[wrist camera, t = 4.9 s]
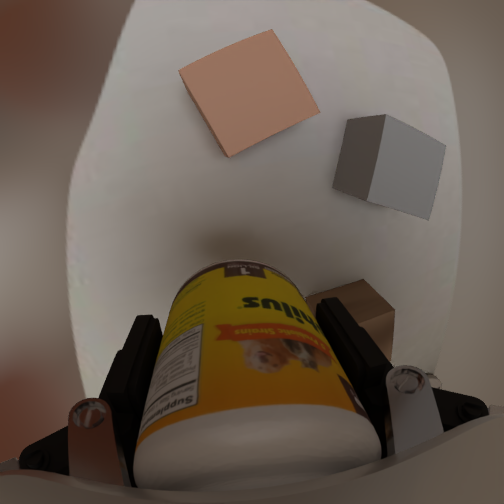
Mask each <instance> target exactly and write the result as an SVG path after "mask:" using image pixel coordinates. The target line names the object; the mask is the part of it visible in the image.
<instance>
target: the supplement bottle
mask: <svg viewBox="0 0 504 504" xmlns="http://www.w3.org/2000/svg"><path fill="white" fill-rule="evenodd" d="M381 453H382V451H381V444H380V440H379V437H378V435H377V433H376V431H375V429H374V426H373V425H372V423H371V420H370V418H369V417H368V415H367V413H366V411H365V409H364V408H363V406H362V404H361V402H360V400H359V398H358V396H357V394H356V392H355V390H354V389H353V387H352V385H351V383H350V381H349V379H348V378H347V376H346V374H345V372H344V370H343V368H342V367H341V365H340V363H339V361H338V359H337V357H336V356H335V354H334V352H333V350H332V348H331V346H330V345H329V343H328V341H327V339H326V337H325V335H324V333H323V332H322V330H321V328H320V326H319V325H318V323H317V321H316V319H315V318H314V316H313V314H312V312H311V310H310V309H309V307H308V305H307V303H306V301H305V300H304V298H303V296H302V295H301V293H300V292H299V290H298V288H297V287H296V286H295V284H294V283H293V282H292V281H291V280H290V279H289V278H288V277H287V276H286V275H285V274H283V273H282V272H280V271H279V270H277V269H276V268H274V267H272V266H270V265H267V264H264V263H261V262H258V261H253V260H245V259H233V260H225V261H221V262H217V263H214V264H211V265H209V266H207V267H205V268H203V269H201V270H199V271H198V272H196V273H195V274H193V275H192V276H191V277H190V278H189V279H188V280H187V281H186V282H185V283H184V284H183V285H182V287H181V288H180V290H179V291H178V293H177V295H176V297H175V299H174V301H173V304H172V306H171V310H170V312H169V317H168V320H167V324H166V327H165V331H164V334H163V337H162V341H161V345H160V348H159V352H158V356H157V359H156V363H155V367H154V371H153V375H152V379H151V383H150V387H149V391H148V395H147V399H146V404H145V408H144V412H143V417H142V421H141V426H140V431H139V435H138V440H137V445H136V450H135V456H134V465H133V473H134V479H135V483H136V485H137V487H138V488H141V489H151V490H164V491H188V492H206V491H232V490H245V489H255V488H264V487H271V486H278V485H285V484H291V483H296V482H301V481H306V480H311V479H316V478H320V477H324V476H328V475H332V474H336V473H340V472H343V471H347V470H350V469H354V468H357V467H360V466H363V465H366V464H369V463H372V462H375V461H378V460H381Z"/></svg>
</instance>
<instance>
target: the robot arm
mask: <svg viewBox="0 0 504 504" xmlns="http://www.w3.org/2000/svg"><path fill="white" fill-rule="evenodd" d="M315 319H316V321H317V323H318V325H319V326H320V328H321V330H322V332H323V333H324V335H325V337H326V339H327V341H328V343H329V345H330V346H331V348H332V350H333V352H334V354H335V356H336V357H337V359H338V361H339V363H340V365H341V367H342V368H343V370H344V372H345V374H346V376H347V378H348V379H349V381H350V383H351V385H352V387H353V389H354V390H355V392H356V394H357V396H358V398H359V400H360V402H361V404H362V406H363V408H364V409H365V411H366V413H367V415H368V417H369V418H370V420H371V423H372V425H373V426H374V429H375V431H376V433H377V435H378V437H379V440H380V444H381V451H382V453H381V460H378V461H375V462H372V463H369V464H366V465H363V466H360V467H357V468H354V469H350V470H347V471H343V472H340V473H336V474H332V475H328V476H324V477H320V478H316V479H311V480H306V481H301V482H296V483H291V484H285V485H278V486H271V487H264V488H255V489H245V490H232V491H206V492H188V491H164V490H151V489H141V488H138V487H137V485H136V483H135V479H134V473H133V465H134V456H135V450H136V445H137V440H138V435H139V431H140V426H141V421H142V417H143V412H144V408H145V404H146V399H147V395H148V391H149V387H150V383H151V379H152V375H153V371H154V367H155V363H156V359H157V356H158V352H159V348H160V345H161V341H162V337H163V335H162V331H161V327H160V323H159V320H158V318H154V317H153V315H138V316H137V317H136V319H135V321H134V323H133V325H132V328H131V330H130V332H129V335H128V337H127V339H126V342H125V344H124V346H123V349H122V350H119V351H118V352H117V354H116V356H115V358H114V361H113V363H112V365H111V368H110V370H109V373H108V375H107V378H106V380H105V383H104V385H103V388H102V390H101V393H100V395H99V398H87V399H84V400H81V401H79V402H78V403H76V404H75V405H74V406H73V407H72V408H71V410H70V412H69V417H68V426H66V427H64V428H62V429H60V430H58V431H57V432H55V433H53V434H51V435H49V436H47V437H45V438H43V439H41V440H39V441H37V442H35V443H33V444H31V445H29V446H27V447H26V448H25V449H24V450H23V451H22V453H21V455H20V457H19V460H17V459H16V458H12V459H10V460H8V461H5V462H2V463H0V504H504V407H502V406H495V405H490V406H489V408H487V406H486V405H485V403H484V402H483V401H481V400H480V399H478V398H475V397H472V396H467V395H463V394H458V393H454V392H449V391H446V390H442V384H441V382H440V380H439V379H438V378H437V377H436V376H434V375H426V374H425V373H424V372H423V371H422V370H420V369H419V368H417V367H413V366H407V365H403V366H397V367H395V368H394V367H393V366H392V364H391V363H390V362H389V360H388V359H387V358H386V356H385V355H384V354H383V352H382V351H381V350H380V348H379V347H378V346H377V344H376V343H375V342H374V340H373V339H372V338H371V337H370V335H369V334H368V333H367V331H366V330H365V329H364V328H363V327H360V326H359V325H358V323H357V322H356V321H355V319H354V318H353V317H352V316H351V314H350V313H349V312H348V310H347V309H346V308H345V306H344V305H343V304H342V303H341V301H340V300H339V299H338V298H337V297H331V298H324V299H322V300H321V303H317V305H316V318H315Z"/></svg>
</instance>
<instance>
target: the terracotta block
mask: <svg viewBox="0 0 504 504" xmlns="http://www.w3.org/2000/svg"><path fill="white" fill-rule="evenodd" d="M178 71H179V74H180V76H181V78H182V80H183V83H184V85H185V87H186V89H187V91H188V93H189V95H190V97H191V98H192V100H193V102H194V103H195V105H196V107H197V108H198V110H199V112H200V114H201V115H202V117H203V119H204V121H205V122H206V124H207V126H208V127H209V129H210V131H211V133H212V134H213V136H214V138H215V140H216V141H217V143H218V145H219V147H220V148H221V150H222V152H223V154H224V155H225V156H226V157H228V158H229V157H231V156H233V155H235V154H237V153H239V152H241V151H242V150H244V149H246V148H248V147H250V146H252V145H254V144H256V143H258V142H260V141H262V140H264V139H266V138H268V137H270V136H272V135H274V134H276V133H278V132H280V131H282V130H284V129H286V128H288V127H290V126H292V125H294V124H296V123H299V122H301V121H303V120H305V119H307V118H309V117H312V116H314V115H316V114H318V113H320V111H319V109H318V107H317V105H316V103H315V101H314V99H313V97H312V95H311V94H310V92H309V90H308V88H307V86H306V84H305V83H304V81H303V79H302V77H301V76H300V74H299V72H298V70H297V69H296V67H295V65H294V63H293V62H292V60H291V58H290V57H289V55H288V53H287V52H286V50H285V49H284V47H283V45H282V44H281V42H280V41H279V39H278V38H277V36H276V34H275V33H274V31H273V30H272V29H271V30H268V31H265V32H262V33H260V34H257V35H254V36H252V37H249V38H247V39H244V40H241V41H239V42H237V43H234V44H232V45H229V46H227V47H225V48H223V49H220V50H218V51H216V52H214V53H212V54H210V55H207V56H205V57H203V58H201V59H199V60H197V61H195V62H193V63H191V64H189V65H187V66H186V67H184V68H182V69H180V70H178Z"/></svg>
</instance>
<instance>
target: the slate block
mask: <svg viewBox="0 0 504 504" xmlns="http://www.w3.org/2000/svg"><path fill="white" fill-rule="evenodd" d="M445 149H446V145H444V144H443V143H441V142H439V141H437V140H436V139H434V138H432V137H430V136H429V135H427V134H425V133H423V132H421V131H419V130H417V129H416V128H414V127H412V126H410V125H408V124H406V123H404V122H402V121H400V120H397V119H395V118H393V117H391V116H389V115H387V114H384V115H376V116H369V117H362V118H355V119H349V120H347V125H346V129H345V134H344V139H343V143H342V148H341V152H340V157H339V161H338V165H337V170H336V174H335V178H334V182H333V186H332V188H334V189H337V190H339V191H342V192H345V193H347V194H350V195H353V196H355V197H358V198H360V199H363V200H365V201H368V202H372V203H375V204H379V205H382V206H385V207H388V208H392V209H395V210H398V211H401V212H404V213H407V214H411V215H414V216H417V217H420V218H423V219H426V220H428V221H429V218H430V214H431V211H432V207H433V203H434V199H435V195H436V191H437V187H438V183H439V179H440V174H441V170H442V165H443V160H444V154H445Z"/></svg>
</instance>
